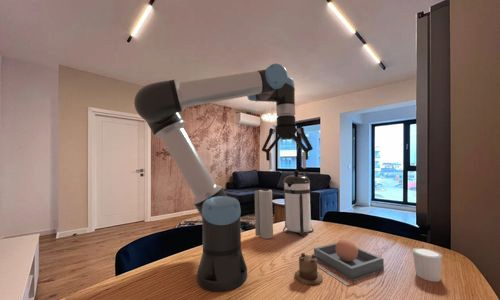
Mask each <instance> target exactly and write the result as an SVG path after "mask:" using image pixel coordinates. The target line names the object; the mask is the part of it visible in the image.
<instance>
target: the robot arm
mask: <svg viewBox="0 0 500 300" xmlns="http://www.w3.org/2000/svg"><path fill="white" fill-rule="evenodd" d="M295 91H296V88H295V80H294V79H293V78H292V77H289V76H288V71H287V69H286V67H284V66H283V65H282V64H280V63H272V64H271V65H270V64H269V66H267V67H266V68H265V69H260V70H254V71H246V72H242V73H233V74H228V75H221V76H214V77H208V78H206V77H205V78H201V79H194V80H188V81H186V80H185V81H181V82H180V81H179V80H176V79H171V80H163V81H158V82H153V83H152V82H151V83H149V84H146V85H144V86H142V87H141V88H140V89H139V90H138V91H137V92H136V94H135V97H134V99H133V100H134V102H133V103H134V109H135V111H136V112H137V114H138V115H139V116H140V117H141V118H142V119H143V120H145V122H146V123H147V126H148V127H149V129H150V131H151V132H152V134H153V136H154V137H155V138H158V139H161V140H162V143H164V146H165V147H166V149H167V150H168V152H169V154H170V156H171V157H172V159H173V161H174V162H175V164H176V166H177V168H178V170H179V171H180V173H181V174H182V176H183V178H184V180H185V182H186V184H187V185H188V187H189V189H190V191H191V192H192V194H193V196H194V200H193V205H194V206H195V208H196V210H197V212H198V213H199V216H200V217H201V219H202V254H201V258H200V262H199V264H198V268H197V272H196V282H197V284H198V286H199V287H201V288H202V289H203V290H207V291H211V292H225V291H227V292H228V291H231V290H234V289H236V288H239V287H240V286H241V285H243V284H244V283H245V282H246V280H247V278H248V267H247V264H246V261H245V258H244V255H243V252H242V240H241V239H242V234H241V229H242V227H241V226H242V225H241V213H242V211H241V210H242V209H241V204H240V201H239V200H238V198H235V197H233V196H228V195H227V193H226V191H225V190H224V188H223V186H222V185H218V184H216V182H215V180H214V179H213V177H212V175H211V173H210V172H209V170H208V168H207V166H206V165H205V163H204V161H203V159H202V157H201V156H200V153H199V152H198V151H197V150H198V149H196V147H195V145H194V143H193V142H192V139H191V138H190V137H189V135H188V133H187V131H186V129H185V126H186V121H185V119H184V117H183V116H182V113H181V112H184V111H185V109H186V108H190V107H196V106H201V105H205V104H206V105H207V104H212V103H216V102H222V101H228V100H234V99H240V98H245V97H247V99H248V100H249V101H251V102H265V103H266V102H270V103H273V102H274V103H276V104H275V105H276V106H275V107H276V128H272V127H270V128H269V130H268V131H269V132H268V136H267V138H266V139H265V142H264V143H263V146H262V148H261V151H262V152H264V153H266V154H265V155H266V156H265V158H266V161H267V162H268V165H269V167H268V169H269V170H272V169H273V167H272V165H273V164H272V163H273V162H272V152H271V150H272V149H273V148H274V147H275V146H276V144H277V143H278V142H279V141H280V140H291V139H292V140H293V141H294V142H295V143H296V144H297V145H298V146H299V148H300V149H301V150H302V152H301V157H302V159H301V161H302V162H301V163H302V164H301V165H302V169H307V166H306V165H307V161H308V160H309V152H311V151H312V150H313V146H312V144H311V143H310V141H309V139H308V137H307V135H306V133H305V128H304V127H299V128H298V127H297V126H296V117H295V115H296V103H295V102H296V101H295V99H296V98H295V93H296V92H295ZM275 133H276V135H277V137H276V138H275V139H274V141H273V142H272V143H271V144H270V145H269V146H268V144H269V142H270V141H271V138H272V136H273V135H274V134H275ZM297 133H298V134H299V135H300V137H301V138H302V140H303V142H304V144H303V142H302V141H301V140H300V139H299V138H298V136H297V135H296V134H297Z"/></svg>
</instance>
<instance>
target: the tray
mask: <svg viewBox="0 0 500 300" xmlns="http://www.w3.org/2000/svg"><path fill="white" fill-rule="evenodd" d="M336 243H337V242H334V243H330V244H327V245H322V246H318V247H314V248H313V254H314V255H316V259H317V262H319V263H321V264H322V265H324V266H326V267H328V268H330V269H331V270H333V271H334V272H336V273H338V274H339V275H341V276H343V277H345V278H346V279H348V280H350V281H351V282H354V281H356V280H359V279H361V278H365V277H368V276H370V275H371V276H372V275H374V274H376V273H379V272H382V271H384V270H385V262H384V258H383V257H381V256H378V255H376V254H374V253H371V252H369V251H367V250H364V249H362V248H360V247H357V249H358V256H357V258H356V259H355V260H353V261H350V262H347V261H344V260H342V259H340V258H339V257H338V255H337V253H336V250H335V246H336Z"/></svg>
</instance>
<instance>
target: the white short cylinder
mask: <svg viewBox="0 0 500 300" xmlns="http://www.w3.org/2000/svg"><path fill="white" fill-rule="evenodd" d="M412 257H413V264H414V269H415V274H416V276H417V277H418V278H420V279H422V280H426V281H429V282H441V280H442V278H441V277H442V276H441V275H442V264H443V263H442V260H443V255H442V253H440V252H438V251H436V250H434V249H430V248H429V249H428V248H425V247H424V248H423V247H414V248H412Z"/></svg>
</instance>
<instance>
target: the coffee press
mask: <svg viewBox="0 0 500 300" xmlns="http://www.w3.org/2000/svg"><path fill="white" fill-rule="evenodd" d="M293 173H294V175H293V174H292V175H287V176H286V177H285V178H284V180H283V184H284V186H283V187H284V188H283V195H284V196H283V197H284V199H283V201H284V228H283V229H282V232H283V233H284V234H286V233H287V232H289V231H290V232H293V233H299V235H300V237H301V238H304V237H305V233H306V232H309V231H310V232H311V233H313V232H314V228H313V227H312V215H311V188H310V185H311V181H310V179H309V177H308V176H307V175H302V174H301V175H300V174H299V173H300V172H299V170H298V169H295V170H294V171H293Z"/></svg>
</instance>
